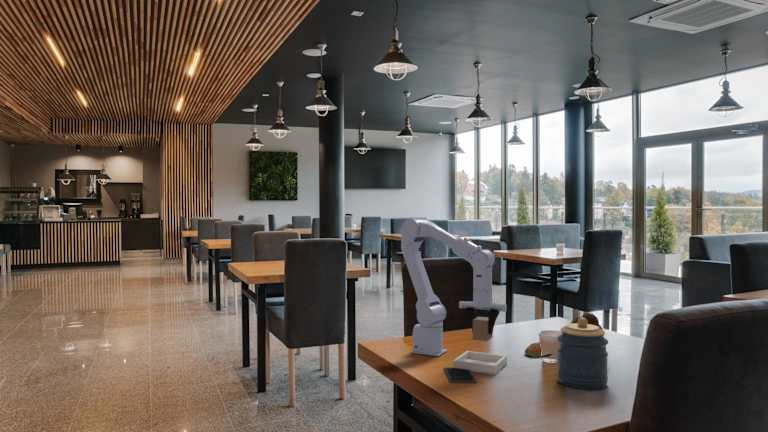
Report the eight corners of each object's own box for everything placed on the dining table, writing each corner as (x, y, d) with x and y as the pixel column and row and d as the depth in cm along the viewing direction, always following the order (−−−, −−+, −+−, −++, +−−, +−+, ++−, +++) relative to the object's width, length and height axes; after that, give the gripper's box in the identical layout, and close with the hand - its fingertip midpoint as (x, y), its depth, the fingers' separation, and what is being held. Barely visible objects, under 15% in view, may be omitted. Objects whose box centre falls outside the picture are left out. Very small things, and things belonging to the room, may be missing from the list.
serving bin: (453, 368, 161) (453, 360, 161) (467, 358, 172) (467, 350, 172) (495, 375, 155) (495, 366, 155) (506, 364, 167) (506, 355, 167)
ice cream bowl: (605, 358, 173) (605, 311, 173) (603, 368, 163) (603, 317, 163) (569, 355, 178) (570, 308, 177) (565, 363, 167) (565, 314, 167)
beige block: (472, 339, 168) (472, 320, 168) (478, 335, 174) (478, 316, 174) (487, 341, 166) (487, 321, 166) (492, 337, 172) (492, 317, 172)
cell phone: (468, 369, 162) (468, 367, 162) (477, 384, 148) (477, 381, 148) (443, 369, 162) (443, 367, 162) (450, 384, 148) (450, 381, 148)
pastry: (537, 359, 173) (537, 347, 173) (519, 355, 178) (519, 343, 178) (553, 354, 179) (553, 342, 179) (535, 350, 184) (535, 339, 184)
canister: (602, 394, 140) (603, 324, 140) (551, 385, 147) (551, 319, 147) (611, 380, 151) (612, 316, 151) (563, 373, 158) (564, 311, 158)
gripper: (455, 289, 169) (455, 333, 170) (502, 292, 163) (502, 338, 163) (463, 286, 176) (463, 328, 176) (508, 289, 169) (508, 333, 169)
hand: (482, 333), depth 170 cm, fingers closed on beige block, 4 cm apart
